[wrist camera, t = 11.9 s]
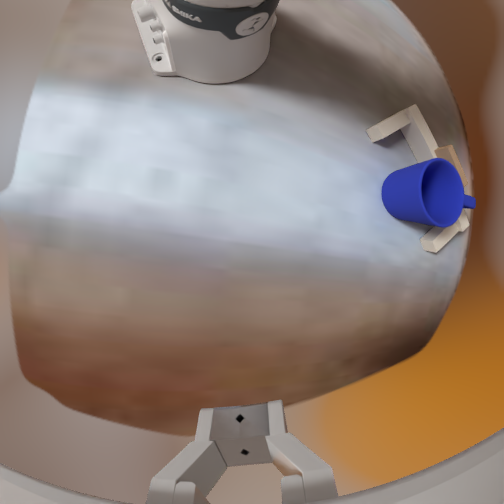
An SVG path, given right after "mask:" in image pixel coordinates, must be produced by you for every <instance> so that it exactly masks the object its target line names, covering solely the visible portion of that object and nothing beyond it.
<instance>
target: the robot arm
mask: <svg viewBox="0 0 504 504" xmlns="http://www.w3.org/2000/svg"><path fill="white" fill-rule="evenodd" d="M278 3H279V0H134V1H133V2H132V4H131V8H132V12H133V16H134V19H135V22H136V25H137V28H138V30H139V33H140V36H141V39H142V42H143V45H144V48H145V51H146V54H147V57H148V60H149V62H150V65H151V68H152V71H153V72H154V74H156V75H159V76H176V75H177V76H182V77H185V78H188V79H191V80H194V81H197V82H202V83H212V84H218V83H227V82H232V81H236V80H239V79H242V78H244V77H246V76H248V75H250V74H252V73H253V72H254V71H256V70H257V69H258V68H259V67H260V66H261V65H262V64H263V62H264V61H265V59H266V58H267V56H268V53H269V49H270V34H271V32H272V30H273V28H274V27H275V25H276V21H277V17H276V16H275V10H276V8H277V6H278ZM157 59H162V60H161V61H156V60H157ZM264 463H273V464H274V465H275V466H276V467H277V469H278V470H279V471H280V472H281V473H282V474H283V475H284V477H283V478H282V479H281V491H282V504H504V428H502V429H501V430H499V431H498V432H496V433H494V434H493V435H491V436H489V437H488V438H486V439H484V440H483V441H481V442H479V443H477V444H475V445H474V446H472V447H470V448H468V449H466V450H464V451H462V452H461V453H458V454H457V455H454V456H453V457H450V458H448V459H446V460H444V461H442V462H440V463H438V464H435V465H433V466H431V467H428V468H426V469H424V470H421V471H419V472H416V473H414V474H411V475H409V476H406V477H403V478H401V479H398V480H395V481H392V482H389V483H386V484H383V485H380V486H376V487H373V488H370V489H366V490H363V491H359V492H356V493H352V494H348V495H343V496H339V497H338V493H337V489H336V485H335V480H334V475H333V471H332V467H331V466H329V465H328V464H327V463H326V462H324V461H323V460H322V459H321V458H319V457H318V456H317V455H316V454H315V453H313V452H312V451H311V450H310V449H309V448H308V447H306V446H305V445H304V444H303V443H302V442H301V441H299V440H298V439H297V438H296V437H295V436H294V435H293V434H291V433H288V431H287V425H286V419H285V413H284V408H283V402H282V400H277V401H271V402H264V403H257V404H250V405H242V406H233V407H219V408H205V409H201V411H200V413H199V419H198V425H197V431H196V437H195V441H191V442H190V443H189V444H188V445H187V446H186V447H185V448H184V449H183V450H182V451H181V452H180V453H179V454H178V455H177V456H176V457H175V458H174V459H172V460H171V461H170V462H169V463H168V464H167V465H166V466H165V467H164V468H163V469H162V470H161V471H160V472H159V473H157V474H156V475H155V476H154V477H153V478H152V480H151V484H150V488H149V492H148V496H147V501H146V504H210V503H209V502H208V501H207V499H206V496H207V495H208V494H209V492H210V491H211V490H212V488H213V487H214V486H215V484H216V483H217V482H218V480H219V479H220V477H221V476H222V475H223V473H224V472H225V471H226V469H227V467H230V466H241V465H251V464H264ZM0 504H131V503H125V502H120V501H114V500H109V499H105V498H100V497H96V496H92V495H88V494H84V493H80V492H77V491H73V490H69V489H66V488H63V487H59V486H57V485H54V484H51V483H48V482H45V481H42V480H39V479H37V478H34V477H31V476H29V475H26V474H24V473H21V472H19V471H17V470H15V469H12V468H10V467H8V466H6V465H4V464H1V463H0Z"/></svg>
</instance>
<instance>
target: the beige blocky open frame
mask: <svg viewBox="0 0 504 504" xmlns="http://www.w3.org/2000/svg"><path fill="white" fill-rule="evenodd" d="M399 129H400V130H401V131H402V133H403V135H404V137H405V139H406V141H407V143H408V144H409V146H410V148H411V150H412V152H413V154H414V156H415V158H416V160H417V162H418V163H421V162H424V161H427V160H430V159H433V158H442V159H445V160H447V161H449V162H450V163H451V164H452V165H453V166H454V167H455V168H456V170H457V171H458V173H459V175H460V177H461V180H462V183H463V187H465V186H466V185H467V184H468V182H467V179H466V176H465V174H464V171H463V169H462V166H461V164H460V162H459V159H458V157H457V155H456V152H455V150H454V148H453V146H452V145H447V146H443V147H438V145H437V143H436V141H435V139H434V137H433V135H432V133H431V131H430V129H429V127H428V125H427V123H426V121H425V120H424V118H423V116H422V114H421V112H420V110H419V109H418V107H417V105H416V104H414V105H412V106H410V107H408V108H406V109H403V110H401V111H399V112H397V113H396V114H394V115H392V116H390V117H388V118H386V119H385V120H383V121H381V122H379V123H377V124H376V125H374V126H372V127H370V128H368V129H367V130H366V132H367V134H368V135H369V137H370V139H371V141H372V142H375V141H378V140H381V139H383V138H385V137H387V136H389V135H390V134H392V133H394V132H395V131H397V130H399ZM468 226H469V222H468V219H467V216H466V213H465V210H464V208H463V209H462V212H461V215H460V217H459V218H458V220H457V221H456V222H455V223H454V224H453V225H451V226H449V227H445V228H442V227H436V226H434V227H433V228H432V229H431V230H430V231H429V232H427V233H426V234H425V235H424V236H423V237H422V238H421V239H420V241H421V244H422V246H423V249H424V250H425V251H430V252H435V253H437V252H438V251H439V250H440V249H441V248H442V247H443V246H444V245H445V244H446V243H447V242H448V241H449V240H450V239H451V238H452V237H453V236H454V235H455V234H456V233H457V232H458V231H462V232H463V231H464V230H465V229H466V228H467V227H468Z"/></svg>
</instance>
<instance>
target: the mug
mask: <svg viewBox="0 0 504 504" xmlns="http://www.w3.org/2000/svg"><path fill="white" fill-rule="evenodd" d="M382 200H383V204H384V206H385V208H386V209H387V211H388V212H389V213H390V214H391V215H392V216H394V217H396V218H398V219H401V220H406V221H411V222H416V223H421V224H426V225H431V226H436V227H442V228H445V227H449V226H451V225H453V224H454V223H455V222H456V221H457V220H458V218H459V217H460V215H461V212H462V209H463V208H470V209H474V208H475V205H476V200H475V198H474V197H471V196H468V195H465V194H464V188H463V183H462V180H461V177H460V175H459V173H458V171H457V170H456V168H455V167H454V166H453V165H452V164H451V163H450V162H449V161H447V160H445V159H442V158H433V159H430V160H427V161H424V162H421V163H418V164H415V165H412V166H409V167H406V168H403V169H400V170H397V171H395V172H393V173H391V174H390V175H389V176H388V177H387V178H386V179H385V181H384V183H383V186H382Z"/></svg>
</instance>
